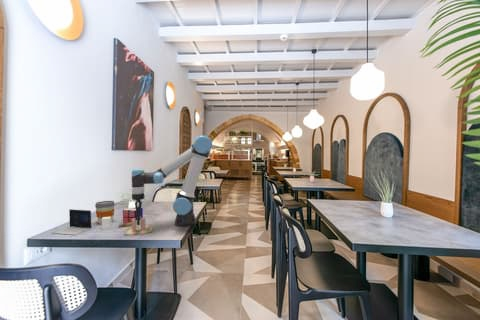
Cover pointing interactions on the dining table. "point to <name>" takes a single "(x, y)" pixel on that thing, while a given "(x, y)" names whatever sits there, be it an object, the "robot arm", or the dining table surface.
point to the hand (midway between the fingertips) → (138, 227)
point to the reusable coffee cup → (104, 210)
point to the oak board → (130, 232)
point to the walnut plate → (125, 224)
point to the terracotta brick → (143, 224)
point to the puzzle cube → (130, 214)
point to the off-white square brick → (106, 222)
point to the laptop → (77, 222)
